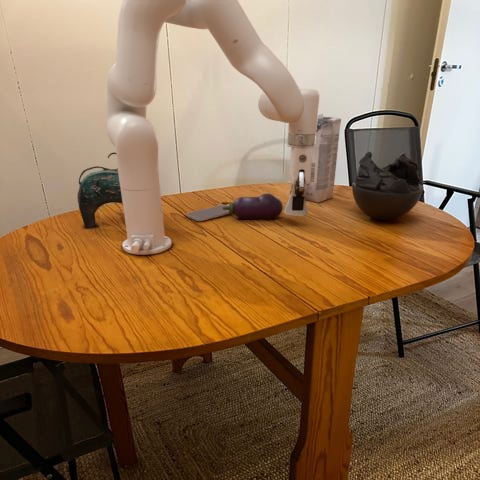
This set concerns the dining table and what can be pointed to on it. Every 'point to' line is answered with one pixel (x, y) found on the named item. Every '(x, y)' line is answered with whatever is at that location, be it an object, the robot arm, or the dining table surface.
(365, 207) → the bowl of black rocks
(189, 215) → the smartphone
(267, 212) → the aubergine
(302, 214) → the flask
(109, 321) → the dining table surface
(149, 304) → the dining table surface
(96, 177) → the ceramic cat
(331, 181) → the juice carton
